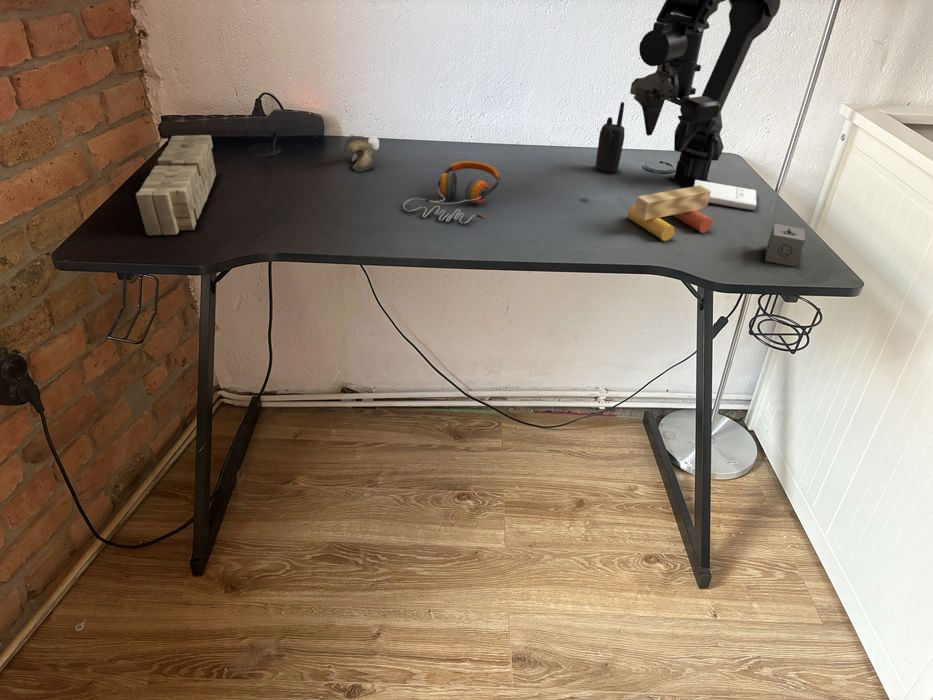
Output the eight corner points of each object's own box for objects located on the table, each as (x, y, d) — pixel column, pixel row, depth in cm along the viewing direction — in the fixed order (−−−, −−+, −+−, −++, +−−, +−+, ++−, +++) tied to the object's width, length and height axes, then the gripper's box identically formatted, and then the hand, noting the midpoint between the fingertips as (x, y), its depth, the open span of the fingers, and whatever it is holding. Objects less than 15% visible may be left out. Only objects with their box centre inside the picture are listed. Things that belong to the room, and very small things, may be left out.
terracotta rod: (674, 210, 136) (678, 196, 134) (709, 231, 129) (713, 216, 127) (663, 213, 135) (666, 198, 133) (697, 234, 128) (701, 219, 126)
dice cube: (765, 260, 120) (773, 234, 117) (765, 249, 124) (774, 223, 121) (795, 266, 118) (804, 240, 116) (795, 254, 122) (804, 228, 119)
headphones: (395, 199, 129) (442, 145, 140) (399, 222, 132) (444, 167, 144) (477, 219, 123) (518, 161, 135) (478, 242, 127) (518, 184, 139)
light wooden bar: (696, 202, 132) (700, 185, 130) (706, 208, 130) (711, 190, 128) (633, 214, 127) (637, 196, 125) (643, 220, 124) (647, 202, 122)
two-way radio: (620, 170, 153) (632, 102, 144) (612, 176, 150) (624, 106, 141) (597, 165, 155) (608, 97, 146) (589, 171, 152) (600, 101, 143)
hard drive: (693, 186, 146) (753, 196, 144) (690, 200, 140) (754, 211, 137) (695, 178, 145) (756, 188, 143) (692, 193, 139) (756, 204, 136)
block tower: (193, 239, 120) (219, 172, 143) (183, 194, 115) (212, 132, 138) (146, 240, 119) (179, 172, 142) (134, 194, 114) (171, 132, 137)
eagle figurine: (341, 150, 153) (333, 156, 145) (358, 123, 151) (351, 128, 142) (370, 170, 155) (364, 178, 147) (387, 144, 152) (382, 150, 144)
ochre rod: (638, 217, 133) (641, 203, 131) (672, 239, 125) (676, 224, 124) (626, 220, 131) (628, 205, 130) (659, 242, 124) (662, 227, 122)
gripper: (614, 49, 128) (602, 132, 137) (682, 74, 114) (663, 164, 124) (660, 45, 132) (645, 126, 141) (731, 68, 119) (710, 156, 128)
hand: (664, 142), depth 133 cm, fingers open, 9 cm apart
